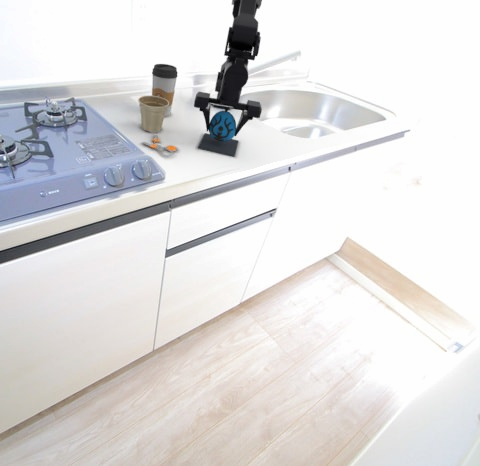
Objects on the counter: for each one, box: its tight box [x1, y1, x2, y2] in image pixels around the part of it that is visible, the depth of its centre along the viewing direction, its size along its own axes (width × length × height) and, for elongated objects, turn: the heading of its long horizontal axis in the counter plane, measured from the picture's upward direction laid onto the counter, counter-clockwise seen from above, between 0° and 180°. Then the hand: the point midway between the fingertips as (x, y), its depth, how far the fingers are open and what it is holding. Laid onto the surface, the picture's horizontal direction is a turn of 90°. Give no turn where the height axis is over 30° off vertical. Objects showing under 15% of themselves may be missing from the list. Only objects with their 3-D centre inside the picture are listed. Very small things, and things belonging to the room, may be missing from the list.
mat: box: [197, 132, 239, 157], centre depth 100 cm, size 11×11×1 cm
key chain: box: [142, 134, 178, 157], centre depth 95 cm, size 13×7×1 cm, turn 39°
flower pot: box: [137, 95, 169, 133], centre depth 101 cm, size 9×9×9 cm
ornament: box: [208, 108, 237, 142], centre depth 97 cm, size 8×5×10 cm, turn 66°
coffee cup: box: [151, 63, 178, 118], centre depth 110 cm, size 8×8×15 cm
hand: (221, 133), depth 98 cm, fingers closed on ornament, 8 cm apart
